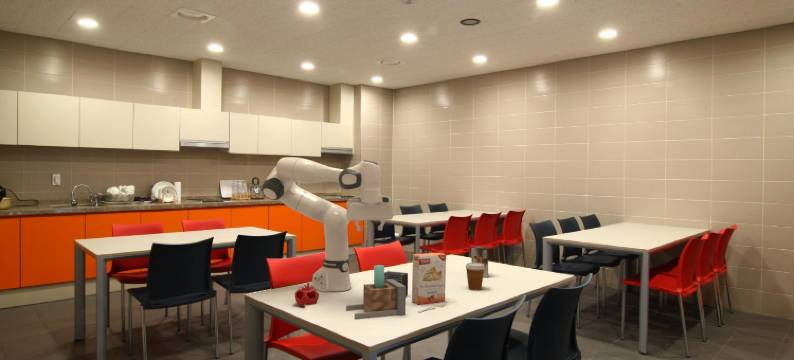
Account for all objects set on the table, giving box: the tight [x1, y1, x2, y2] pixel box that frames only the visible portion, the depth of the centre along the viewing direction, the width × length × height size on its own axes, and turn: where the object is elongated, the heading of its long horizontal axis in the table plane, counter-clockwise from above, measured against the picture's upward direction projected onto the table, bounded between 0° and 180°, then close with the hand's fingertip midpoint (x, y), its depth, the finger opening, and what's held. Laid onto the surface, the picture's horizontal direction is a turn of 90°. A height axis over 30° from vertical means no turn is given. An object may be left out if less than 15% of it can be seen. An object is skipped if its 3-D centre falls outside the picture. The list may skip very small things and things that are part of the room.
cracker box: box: [411, 252, 447, 305], centre depth 212 cm, size 14×6×21 cm, turn 117°
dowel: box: [373, 264, 385, 289], centre depth 191 cm, size 4×4×13 cm
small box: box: [384, 270, 409, 297], centre depth 222 cm, size 11×6×10 cm, turn 65°
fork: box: [417, 301, 447, 314], centre depth 199 cm, size 3×24×2 cm, turn 135°
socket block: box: [362, 283, 396, 312], centre depth 192 cm, size 10×10×10 cm
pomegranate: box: [294, 282, 320, 307], centre depth 205 cm, size 10×10×9 cm
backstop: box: [345, 279, 407, 320], centre depth 190 cm, size 25×14×12 cm, turn 111°
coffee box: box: [470, 245, 489, 279], centre depth 267 cm, size 9×6×16 cm
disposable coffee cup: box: [465, 262, 485, 291], centre depth 237 cm, size 10×10×12 cm
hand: (369, 230), depth 208 cm, fingers open, 8 cm apart
